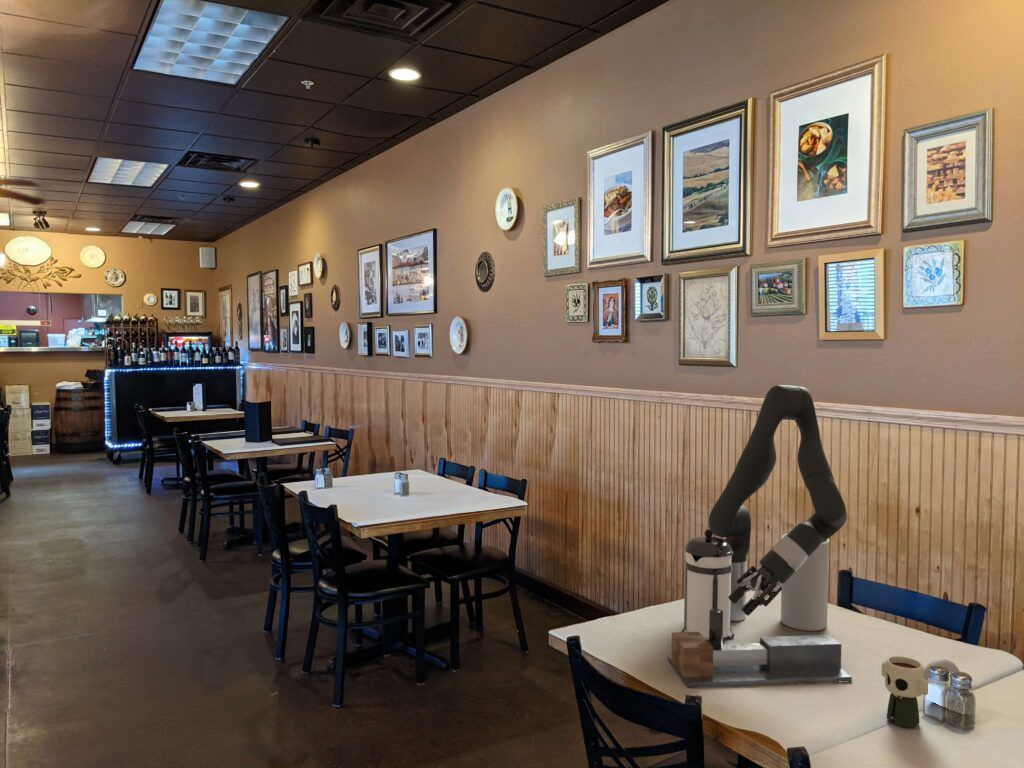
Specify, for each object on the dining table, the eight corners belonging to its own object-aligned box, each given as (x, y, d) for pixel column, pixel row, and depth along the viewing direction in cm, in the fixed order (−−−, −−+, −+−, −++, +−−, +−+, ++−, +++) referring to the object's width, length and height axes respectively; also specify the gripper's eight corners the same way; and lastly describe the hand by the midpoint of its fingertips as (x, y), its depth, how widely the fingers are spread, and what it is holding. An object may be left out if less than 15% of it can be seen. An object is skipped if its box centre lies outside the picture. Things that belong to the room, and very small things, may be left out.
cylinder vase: (771, 620, 223) (773, 535, 222) (803, 614, 228) (805, 531, 227) (804, 634, 211) (806, 545, 210) (836, 628, 217) (839, 541, 216)
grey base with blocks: (667, 660, 193) (667, 632, 193) (818, 655, 197) (818, 627, 197) (688, 687, 177) (688, 657, 177) (851, 681, 181) (852, 651, 181)
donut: (928, 709, 168) (930, 664, 167) (916, 702, 171) (917, 658, 170) (964, 703, 171) (965, 659, 170) (951, 696, 174) (952, 653, 173)
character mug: (869, 714, 165) (870, 655, 164) (892, 708, 168) (894, 650, 167) (914, 737, 155) (915, 675, 154) (938, 731, 158) (940, 669, 157)
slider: (690, 660, 187) (691, 609, 187) (784, 657, 190) (785, 606, 189) (696, 666, 184) (697, 614, 183) (791, 663, 186) (792, 611, 186)
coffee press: (746, 649, 201) (748, 536, 200) (685, 648, 201) (687, 535, 200) (728, 625, 218) (730, 521, 217) (672, 624, 219) (674, 521, 217)
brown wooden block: (671, 660, 190) (671, 632, 190) (698, 659, 191) (698, 631, 191) (684, 677, 180) (684, 648, 180) (712, 676, 181) (713, 647, 181)
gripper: (761, 541, 193) (716, 587, 193) (786, 557, 179) (738, 606, 179) (781, 562, 194) (736, 607, 194) (807, 579, 180) (759, 627, 179)
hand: (737, 606), depth 186 cm, fingers open, 8 cm apart
